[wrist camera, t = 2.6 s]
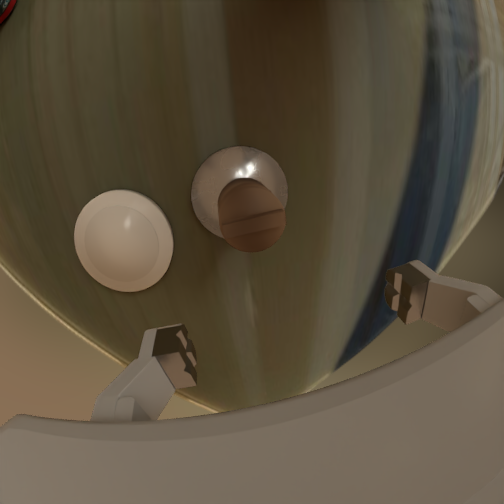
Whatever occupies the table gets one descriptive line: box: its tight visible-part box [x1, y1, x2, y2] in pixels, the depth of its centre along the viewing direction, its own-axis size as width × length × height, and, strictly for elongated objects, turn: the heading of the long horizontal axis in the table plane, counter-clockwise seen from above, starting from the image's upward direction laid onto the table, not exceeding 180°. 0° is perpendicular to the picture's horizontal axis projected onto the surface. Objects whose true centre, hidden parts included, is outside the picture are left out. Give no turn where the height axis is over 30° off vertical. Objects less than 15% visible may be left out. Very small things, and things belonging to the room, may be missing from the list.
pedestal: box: [191, 146, 288, 238], centre depth 26 cm, size 10×10×5 cm
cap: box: [218, 178, 287, 252], centre depth 22 cm, size 5×5×6 cm
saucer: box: [74, 189, 174, 292], centre depth 28 cm, size 12×12×1 cm
